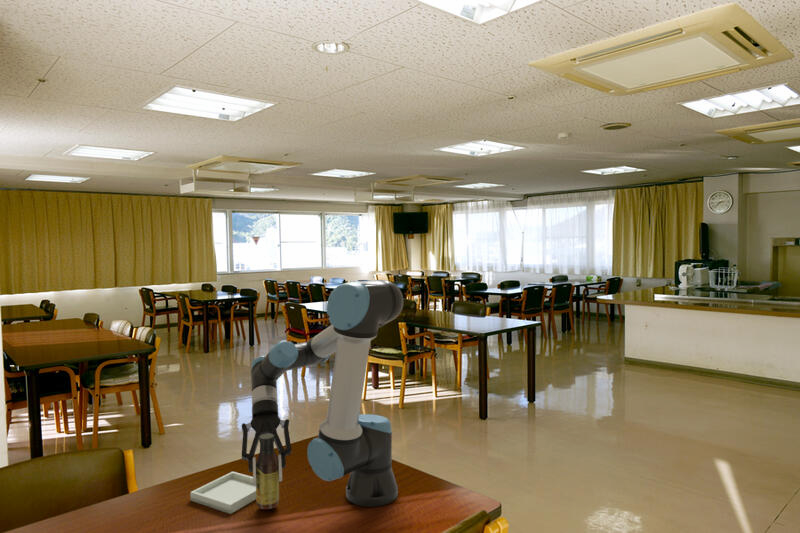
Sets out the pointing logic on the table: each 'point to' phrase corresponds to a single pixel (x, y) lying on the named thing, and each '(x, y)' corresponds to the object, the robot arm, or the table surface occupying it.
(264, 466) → the sauce bottle
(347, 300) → the robot arm
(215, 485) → the tray
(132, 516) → the table surface
